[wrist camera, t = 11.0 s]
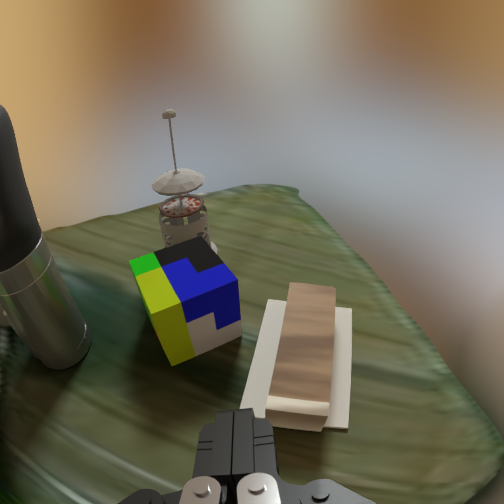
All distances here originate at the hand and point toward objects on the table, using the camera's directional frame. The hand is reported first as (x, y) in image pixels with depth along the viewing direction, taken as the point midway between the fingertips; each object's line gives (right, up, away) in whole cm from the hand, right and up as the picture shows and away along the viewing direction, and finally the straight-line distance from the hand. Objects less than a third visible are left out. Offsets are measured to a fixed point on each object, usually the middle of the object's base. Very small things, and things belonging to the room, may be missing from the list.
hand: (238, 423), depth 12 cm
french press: (-10, +7, +44) cm, 46 cm away
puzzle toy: (-8, -3, +30) cm, 31 cm away
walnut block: (+5, -10, +16) cm, 19 cm away
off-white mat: (+7, -6, +25) cm, 27 cm away
